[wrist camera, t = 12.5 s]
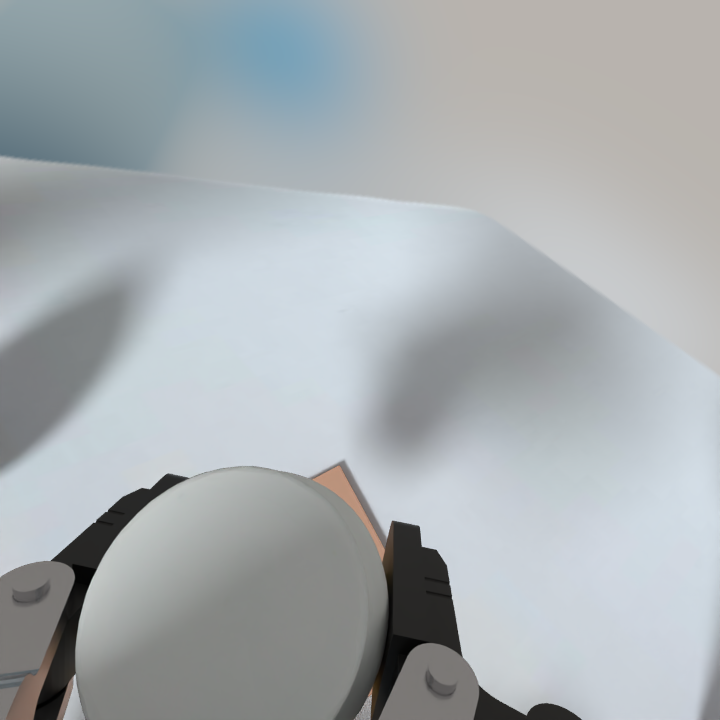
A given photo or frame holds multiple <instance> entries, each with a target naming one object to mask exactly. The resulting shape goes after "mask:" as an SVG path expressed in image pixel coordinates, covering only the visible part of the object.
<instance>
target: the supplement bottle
mask: <svg viewBox="0 0 720 720" xmlns="http://www.w3.org/2000/svg"><path fill="white" fill-rule="evenodd" d="M388 620H389V598H388V590H387V581H386V577H385V572H384V568H383V565H382V561H381V558H380V555H379V552H378V550H377V547H376V545H375V542H374V540H373V539H372V537H371V535H370V533H369V531H368V529H367V528H366V526H365V525H364V523H363V522H362V520H361V519H360V518H359V516H358V515H357V514H356V513H355V511H354V510H353V509H352V508H351V507H350V506H349V505H348V504H347V503H346V502H345V501H344V500H343V499H342V498H341V497H339V496H338V495H337V494H335V493H334V492H333V491H331V490H330V489H328V488H327V487H325V486H323V485H321V484H319V483H317V482H315V481H313V480H311V479H309V478H306V477H303V476H300V475H296V474H293V473H288V472H282V471H276V470H272V469H268V468H262V467H255V466H239V467H230V468H222V469H217V470H213V471H210V472H205V473H202V474H199V475H196V476H194V477H191V478H189V479H187V480H185V481H183V482H181V483H178V484H177V485H175V486H173V487H171V488H170V489H168V490H166V491H165V492H164V493H162V494H161V495H159V496H158V497H156V498H155V499H153V500H152V501H151V502H150V503H148V504H147V505H146V506H145V507H144V508H143V509H142V510H141V511H140V512H138V513H137V515H136V516H135V517H134V518H133V519H132V520H131V521H130V522H129V523H128V524H127V525H126V526H125V527H124V529H123V530H122V531H121V532H120V533H119V535H118V536H117V537H116V539H115V540H114V541H113V543H112V544H111V546H110V547H109V549H108V550H107V552H106V553H105V555H104V557H103V559H102V560H101V562H100V564H99V566H98V568H97V570H96V572H95V574H94V576H93V578H92V581H91V583H90V586H89V588H88V591H87V593H86V597H85V600H84V604H83V608H82V611H81V615H80V619H79V625H78V631H77V639H76V648H75V670H76V680H77V688H78V693H79V697H80V702H81V706H82V709H83V713H84V716H85V718H86V720H354V719H355V717H356V716H357V714H358V713H359V711H360V710H361V708H362V707H363V705H364V703H365V701H366V699H367V697H368V695H369V693H370V691H371V689H372V687H373V685H374V682H375V679H376V676H377V674H378V671H379V668H380V665H381V662H382V659H383V655H384V650H385V645H386V639H387V631H388Z"/></svg>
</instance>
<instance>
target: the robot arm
mask: <svg viewBox="0 0 720 720" xmlns="http://www.w3.org/2000/svg"><path fill="white" fill-rule="evenodd" d="M187 479H189V478H188V477H183V476H178V475H173V474H166V475H165V476H164V477H162V478H161V479H160V480H159V481H158V482H157V483H156V484H155V485H154V486H153V487H152V488H151V489H145V488H141V489H139V490H137V491H135V492H132V493H130V494H128V495H126V496H124V497H122V498H121V499H120V500H119V501H118V502H116V503H115V504H114V505H113V506H112V507H111V508H110V509H109V510H108V512H105V513H104V514H103V515H102V516H101V517H100V518H98V519H97V521H96V523H93V524H92V525H91V526H89V527H88V528H87V529H86V530H85V531H84V532H83V533H82V534H80V535H79V536H78V537H77V538H76V539H75V540H74V541H73V542H71V543H70V544H69V545H68V546H67V547H66V548H65V549H64V550H62V551H61V552H60V553H59V554H58V555H57V556H56V557H55V558H53V559H52V560H51V561H43V562H36V563H31V564H27V565H24V566H21V567H19V568H16V569H14V570H12V571H10V572H8V573H6V574H5V575H3V576H2V577H0V720H63V718H64V715H65V711H66V708H67V705H68V702H69V699H70V695H71V692H72V689H73V676H74V675H75V673H76V670H75V648H76V639H77V631H78V625H79V619H80V615H81V611H82V608H83V604H84V600H85V597H86V593H87V591H88V588H89V586H90V583H91V581H92V578H93V576H94V574H95V572H96V570H97V568H98V566H99V564H100V562H101V560H102V559H103V557H104V555H105V553H106V552H107V550H108V549H109V547H110V546H111V544H112V543H113V541H114V540H115V539H116V537H117V536H118V535H119V533H120V532H121V531H122V530H123V529H124V527H125V526H126V525H127V524H128V523H129V522H130V521H131V520H132V519H133V518H134V517H135V516H136V515H137V513H138V512H140V511H141V510H142V509H143V508H144V507H145V506H146V505H147V504H148V503H150V502H151V501H152V500H153V499H155V498H156V497H158V496H159V495H161V494H162V493H164V492H165V491H166V490H168V489H170V488H171V487H173V486H175V485H177V484H178V483H181V482H183V481H185V480H187ZM382 565H383V568H384V572H385V577H386V581H387V590H388V598H389V620H388V631H387V639H386V645H385V650H384V655H383V659H382V662H381V665H380V668H379V671H378V674H377V676H376V679H375V682H374V685H373V687H372V704H371V720H582V719H581V718H579V717H578V716H576V715H575V714H574V713H572V712H570V711H569V710H567V709H565V708H563V707H560V706H558V705H554V704H548V703H544V704H538V705H535V706H534V707H533V708H531V709H530V711H529V712H528V714H527V716H526V715H524V714H522V713H520V712H519V711H517V710H515V709H513V708H511V707H509V706H508V705H506V704H504V703H502V702H500V701H499V700H497V699H495V698H494V697H492V696H491V695H490V694H488V693H487V692H486V691H485V690H483V689H482V688H481V687H480V686H479V685H478V681H477V678H476V676H475V674H474V672H473V670H472V668H471V667H470V665H469V664H468V663H467V662H466V661H465V660H464V658H463V657H462V653H461V647H460V641H459V635H458V629H457V623H456V617H455V611H454V605H453V600H452V594H451V588H450V585H449V583H450V582H449V576H448V570H447V565H446V564H445V562H444V561H443V559H442V558H441V556H440V555H439V553H438V551H437V550H434V549H429V548H425V547H422V545H421V534H420V527H419V526H417V525H412V524H407V523H402V522H397V521H392V523H391V526H390V530H389V535H388V539H387V543H386V548H385V552H384V556H383V561H382Z"/></svg>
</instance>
